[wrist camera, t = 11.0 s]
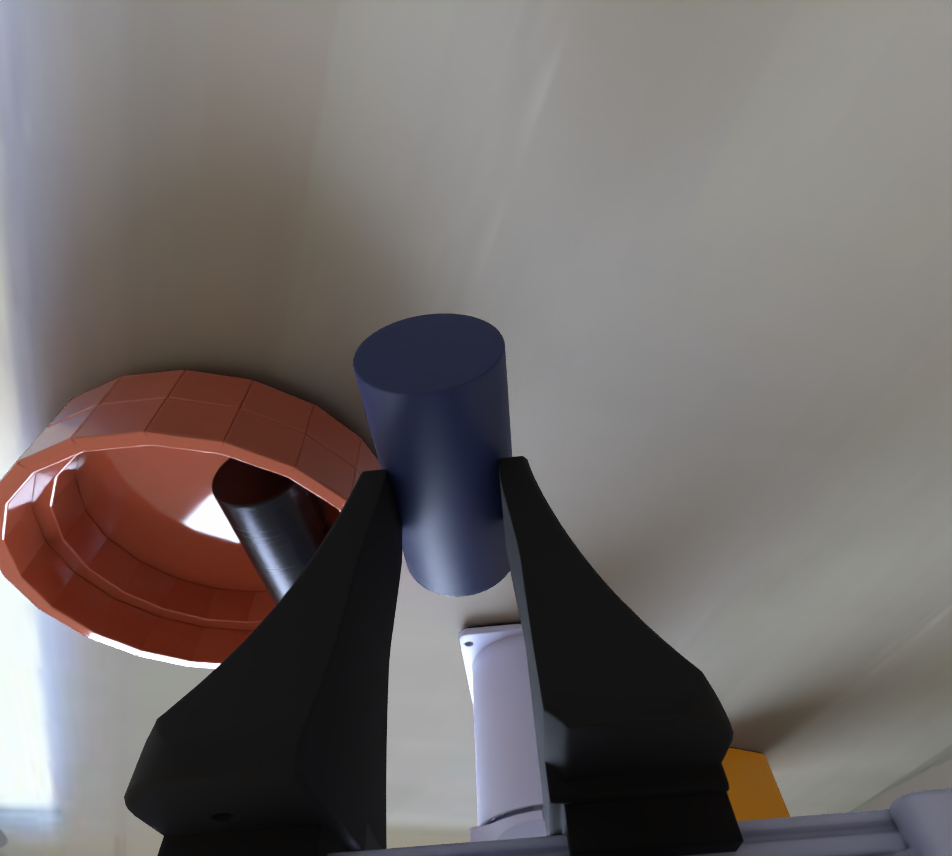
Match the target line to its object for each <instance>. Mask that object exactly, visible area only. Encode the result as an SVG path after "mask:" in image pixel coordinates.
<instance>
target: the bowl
mask: <svg viewBox="0 0 952 856" xmlns="http://www.w3.org/2000/svg"><path fill="white" fill-rule="evenodd" d="M229 458H233V459H236V460H239V461H242V462H245V463H248V464H251V465H253V466H256V467H259V468H262V469H265V470H268V471H271V472H273V473H276V474H279V475H282V476H285V477H288V478H289V479H291V480H292V481H294V482H296V483H297V484H299V485H300V486H302V487H304V488H305V489H307V490H308V491H310V492H312V493H313V494H315V495H316V496H318V497H320V498H321V499H323V500H324V503H325V506H326V508H327V511H328V513H329V516H330V518H331V521H332V524H334V522H335V520H336V519H337V517H338V515H339V514H340V512H341V510H342V508H343V507H344V505H345V503H346V501H347V499H348V497H349V496H350V494H351V492H352V490H353V488H354V486H355V484H356V482H357V480H358V478H359V476H360V474H361V473H362V472H363V471H371V470H381V468H380V464H379V461H378V460H377V458H376V457H375V456H374V454H373V453H372V452H371V450H370V449H369V448H368V446H367V445H366V444H365V442H364V441H363V440H362V439H361V438H360V437H359V436H358V435H357V434H355V433H354V432H352V431H351V430H350V429H348V428H347V427H346V426H344V425H343V424H341V423H340V422H339V421H337V420H336V419H335V418H333V417H332V416H330V415H329V414H328V413H326V412H325V411H324V410H322V409H321V408H319V407H318V406H317V405H313V404H312V403H309V402H307V401H305V400H302V399H300V398H297V397H295V396H292V395H290V394H287V393H285V392H282V391H280V390H277V389H275V388H272V387H270V386H267V385H265V384H262V383H260V382H257V381H252V380H251V379H244V378H238V377H231V376H225V375H218V374H212V373H205V372H199V371H192V370H175V371H166V372H156V373H146V374H136V375H127V376H123V377H119V378H117V379H114V380H112V381H110V382H108V383H105V384H103V385H101V386H99V387H97V388H94V389H92V390H90V391H88V392H86V393H83V394H81V395H79V396H77V397H75V398H73V399H71V400H70V401H69V403H68V404H67V405H66V406H65V407H64V408H63V409H62V410H61V412H60V413H59V414H58V415H57V416H56V417H55V418H54V419H53V421H52V422H51V423H50V424H49V425H48V426H47V427H46V428H45V430H44V431H43V432H42V433H41V434H40V435H39V436H38V437H37V439H36V440H35V441H34V442H33V443H32V444H31V445H30V446H29V448H28V449H27V450H26V451H25V452H24V453H23V454H22V455H21V457H20V458H19V459H18V460H17V461H16V462H15V463H14V465H13V466H12V467H11V468H10V469H9V471H8V472H7V473H6V474H5V475H4V477H3V478H2V479H1V480H0V570H1V572H2V574H3V575H4V577H5V578H6V579H7V580H8V581H10V582H11V583H12V584H13V585H14V586H15V587H16V588H17V589H18V590H19V591H20V592H21V593H22V594H23V595H24V596H25V597H26V598H27V599H29V600H30V601H31V602H32V603H33V604H34V605H35V606H36V607H37V608H38V609H40V610H41V611H43V612H44V613H46V614H48V615H49V616H51V617H53V618H55V619H56V620H58V621H60V622H61V623H63V624H65V625H67V626H68V627H70V628H72V629H73V630H75V631H77V632H79V633H80V634H82V635H84V636H87V637H88V638H91V639H94V640H96V641H99V642H102V643H104V644H107V645H110V646H112V647H115V648H118V649H120V650H123V651H126V652H128V653H131V654H134V655H138V656H140V657H145V658H149V659H154V660H159V661H164V662H168V663H173V664H178V665H182V666H187V667H190V666H191V667H198V668H213V669H216V668H217V667H218V666H219V665H220V664H221V663H222V662H223V661H224V660H225V659H226V658H227V657H228V656H229V655H230V654H231V653H232V652H233V651H234V650H235V649H236V648H237V647H238V646H239V645H240V644H241V643H242V642H243V641H244V640H245V639H246V638H247V637H248V636H249V635H250V634H251V633H252V632H253V631H254V630H255V629H256V628H257V626H258V625H259V624H260V623H261V622H262V621H263V620H264V618H265V617H266V616H267V615H268V614H269V613H270V612H271V611H272V609H273V608H274V607H275V606H276V605H275V603H274V601H273V599H272V598H271V596H270V594H269V592H268V591H267V589H266V587H265V585H264V583H263V582H262V580H261V578H260V576H259V575H258V573H257V571H256V569H255V568H254V566H253V564H252V562H251V561H250V559H249V557H248V555H247V554H246V552H245V550H244V548H243V546H242V545H241V543H240V541H239V539H238V538H237V536H236V534H235V532H234V531H233V529H232V527H231V525H230V524H229V522H228V520H227V518H226V516H225V515H224V513H223V511H222V509H221V508H220V506H219V504H218V502H217V501H216V499H215V497H214V495H213V493H212V481H213V478H214V475H215V473H216V472H217V470H218V469H219V468H220V466H221V465H222V464H223V463H224V462H225V461H226V460H228V459H229Z"/></svg>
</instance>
